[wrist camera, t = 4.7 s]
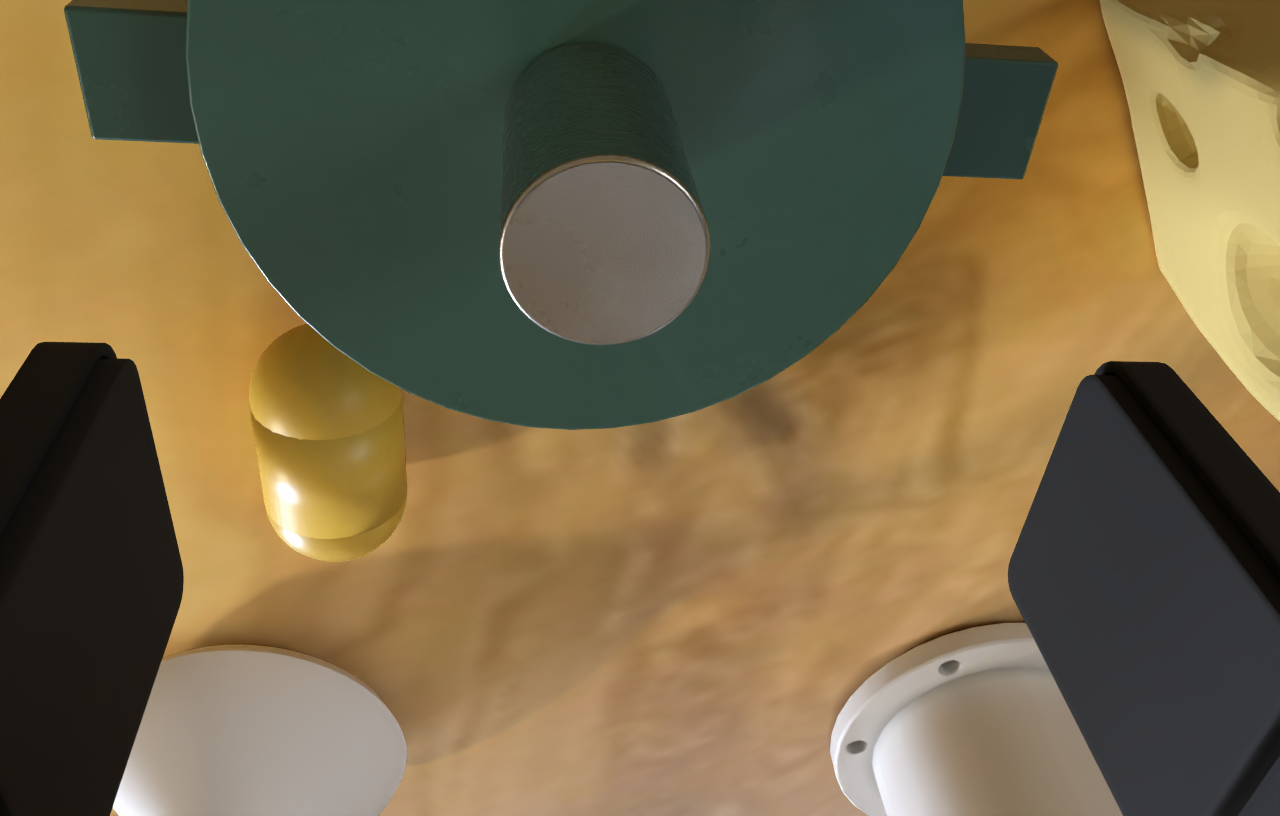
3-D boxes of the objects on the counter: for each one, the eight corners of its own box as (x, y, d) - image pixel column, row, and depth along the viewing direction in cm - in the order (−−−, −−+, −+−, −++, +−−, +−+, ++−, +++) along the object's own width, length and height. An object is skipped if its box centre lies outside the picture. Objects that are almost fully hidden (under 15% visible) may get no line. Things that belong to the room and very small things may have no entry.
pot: (143, -365, 22) (-40, -359, 15) (981, -284, 24) (1177, -244, 17) (228, 202, 29) (132, 390, 22) (867, 226, 32) (970, 404, 24)
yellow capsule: (256, 292, 31) (223, 374, 28) (404, 296, 32) (391, 376, 28) (285, 499, 36) (260, 591, 32) (414, 500, 36) (403, 590, 33)
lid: (132, -387, 15) (-52, -393, 10) (1040, -298, 17) (1251, -267, 12) (252, 395, 23) (179, 602, 18) (864, 405, 25) (949, 598, 20)
